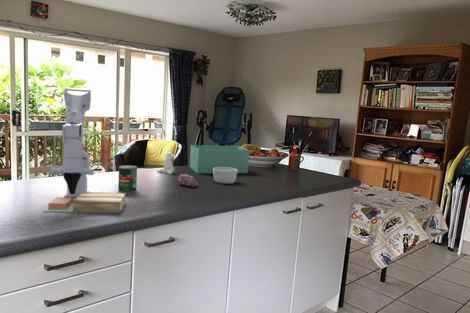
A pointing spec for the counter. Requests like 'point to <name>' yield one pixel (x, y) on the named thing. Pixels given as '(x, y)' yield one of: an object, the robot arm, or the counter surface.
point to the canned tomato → (127, 178)
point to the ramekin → (224, 174)
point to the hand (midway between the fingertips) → (72, 193)
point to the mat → (69, 209)
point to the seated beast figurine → (167, 164)
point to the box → (218, 158)
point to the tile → (60, 203)
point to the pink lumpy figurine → (188, 178)
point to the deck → (99, 202)
